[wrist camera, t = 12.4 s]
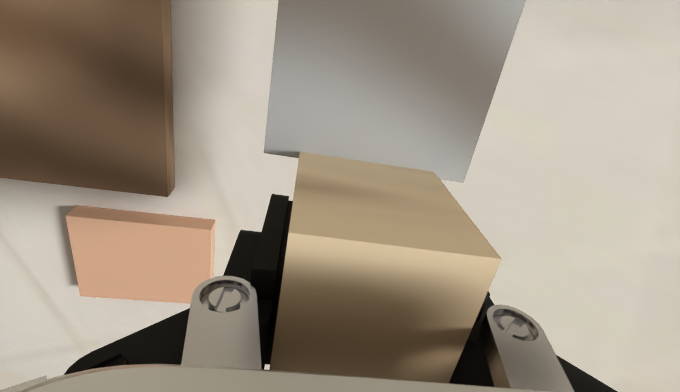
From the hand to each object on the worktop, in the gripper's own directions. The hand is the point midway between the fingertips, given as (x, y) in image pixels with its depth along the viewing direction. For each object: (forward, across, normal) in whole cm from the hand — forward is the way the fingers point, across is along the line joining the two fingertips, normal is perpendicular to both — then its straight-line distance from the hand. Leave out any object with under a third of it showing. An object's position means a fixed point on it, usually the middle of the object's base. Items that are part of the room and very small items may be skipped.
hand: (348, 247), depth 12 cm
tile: (+10, +7, +9) cm, 15 cm away
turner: (0, 0, -3) cm, 3 cm away
